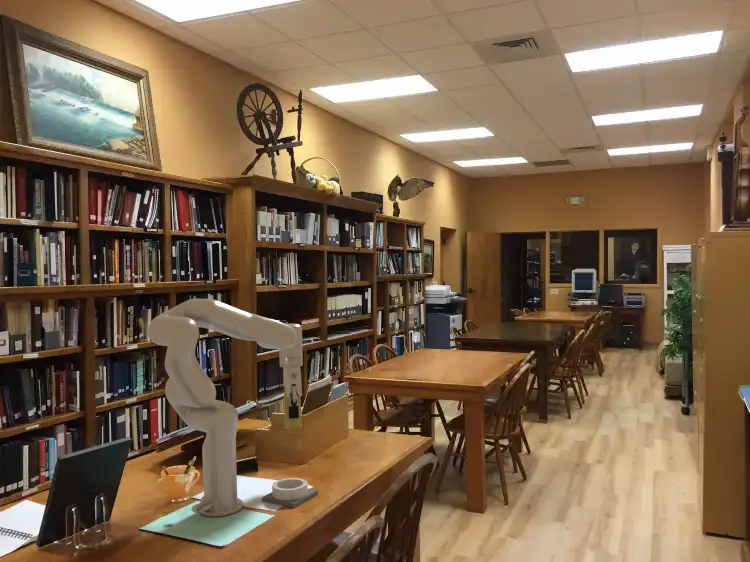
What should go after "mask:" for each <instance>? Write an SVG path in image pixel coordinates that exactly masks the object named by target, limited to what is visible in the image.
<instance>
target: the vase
mask: <svg viewBox="0 0 750 562" xmlns="http://www.w3.org/2000/svg"><path fill="white" fill-rule="evenodd" d="M283 387H284V388H283V392H284V393H283V394H284V395H283V396H284V397H283V398H284V399H283V400H284V404H283V405H284V406H283V407H284V408H283V409H284V413H283V414H284V415H283V416H284V422H283V429H286V430H298V429H301V428H302V427H303V419H302V402H301V400H302V399H301V397H300V396H299V395H298V393H297V395H298V406H299V418H293V419H289V397H287V396H286V390H285V385H284V384H283ZM291 390H292V388H291ZM291 396H292V395H290V397H291ZM291 400H292V399H291Z"/></svg>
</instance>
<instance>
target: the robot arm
mask: <svg viewBox="0 0 750 562" xmlns="http://www.w3.org/2000/svg"><path fill="white" fill-rule="evenodd" d="M199 328H204V329H208V330H212V331H214V332H217V333H220V334H223V335H226V336H228V337H230V338H231V337H232V338H234V339H238V340H243V341H252V342H256V343H257V345H258V346H259V347H261V348H263V349H269V350H270V349H271V350H278V351H279V367H280V368H283V369H282V371H283V386H284V385H285V390H286V396H287V397H289V419H293V418H299V406H298V395H299V396H300V398H301V397H302V396H303V389H302V372H301V367H302V366H304V365H303V363H304V361H303V360H304V359H303V358H304V357H303V329H302V326H301V325H300V324H298V323H284V322H280V321H278V320H276V319H272V318H268V317H265V316H260V315H258V314H256V313H252V312H248V311H245V310H242V309H239V308H237V307H235V306H233V305H229V304H227V303H225V302H222V301H219V300H216V299H213V298H191V299H187V300H186V301H184V302H181V303H179V304H178V305H176V306H174V307H171V308H170V309H168V310H166V311H164V312H162V313H160V314H158V315H157V316H155V317H154V318H153V319H151V321H150V322H149V325H148V328H147V335H148V338H149V340H150V341H151V342H153V343H154V344H155V345H157V346H162V347H167V348H166V353H165V358H164V369H165V372H166V373H167V375H168V377H169V378H168V379H167V381H166V382H165V389H164V392H165V396H166V399H167V401H168V403H169V404H170V405H171V407H172V408H173V409H174V411H175V412H176V413H177V414H178V416H179V417H180V418H181V420H182V421H183V422H184V423H185V425H187V426H188V427H189V428H191V429H192V430H196V431H200V432H204V433H206V434H205V435H206V436H205V438H204V441H203V443H202V448H201V449H202V450H201V451H202V452H201V453H202V454H201V455H202V474H203V475H202V476H203V477H202V479H203V496H201V498H200V500H201V501H199V502H198V503H196V504H194V505H192V506H191V511H192V513H197V512H199V514H200V515H202V516H206V517H212V518H213V517H223V516H224V517H225V516H229V514H230V515H232V514H235V513H237V512H239V511H240V510H242V509H243V507H244V501H243V500H242V499H240V498H238V477H237V475H238V474H237V448H236V445H237V439H236V437H237V430H238V424H239V414H238V411H237V409H236V408H235V406H234V405H233V404H231V403H229V402H227V401H223V400H218V399H216V397H217V390H216V387H215V385H214V383H213V382H212V380H211V379H210V378H209V376H208V374H207V373H206V371H205V370H204V369H203V367H202V366H201V365H200V363H199V361H198V359H197V356H196V347H197V342H198V340H199V336H200V331H199V330H200V329H199ZM291 388H292V390H291ZM297 393H298V395H297ZM290 395H292V396H291V397H290ZM291 399H292V400H291Z"/></svg>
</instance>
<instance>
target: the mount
mask: <svg viewBox="0 0 750 562" xmlns="http://www.w3.org/2000/svg"><path fill="white" fill-rule="evenodd" d="M271 489H272V491H271V492H269V493H267V494H266V495H263V496H262V497H261V499H262V500H261V501H262V502H264V501H266V502H265V503H269V502H271V503H270V504H274V503H275V505H278V504H279V505H278V506H283V507H287V506H288V507H289V508H294V507H295V508H296V507H298V506H300V505H301V504H303V503H305V502H308V501H309V500H310V499H313V498H314V497H316V496H318V494H319V490H317V489H312V488H308V481H307V480H306V479H304V478H301V477H300V478H299V477H288V478H282V479H279V480H277V481H275V482H273V484H272V486H271ZM295 508H294V509H295Z"/></svg>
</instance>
